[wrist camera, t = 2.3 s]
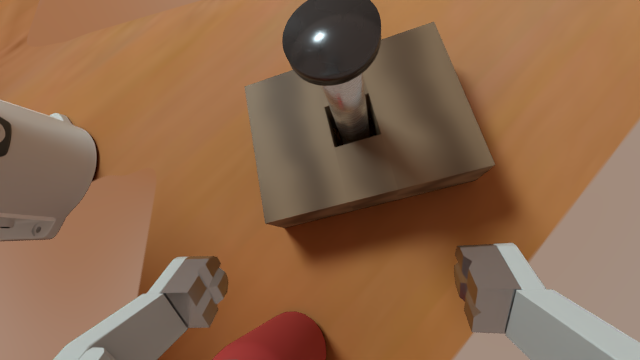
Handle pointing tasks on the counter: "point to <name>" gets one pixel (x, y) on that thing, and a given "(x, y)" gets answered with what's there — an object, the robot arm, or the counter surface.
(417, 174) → the brown flat block
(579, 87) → the counter surface
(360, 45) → the steel peg
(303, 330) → the beer can
